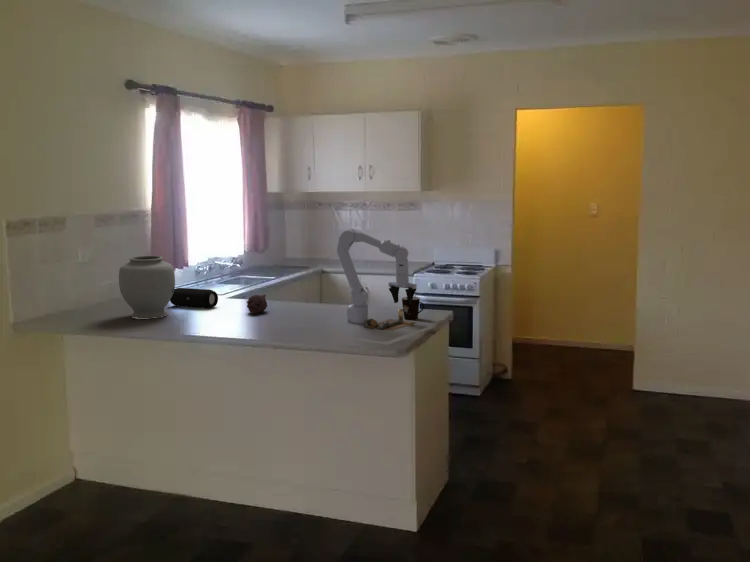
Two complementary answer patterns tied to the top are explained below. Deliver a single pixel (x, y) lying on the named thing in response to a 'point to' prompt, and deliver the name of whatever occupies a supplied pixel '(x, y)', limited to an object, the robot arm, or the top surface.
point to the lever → (388, 324)
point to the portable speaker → (194, 298)
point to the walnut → (373, 323)
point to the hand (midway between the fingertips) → (402, 303)
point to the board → (392, 328)
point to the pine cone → (257, 304)
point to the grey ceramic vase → (147, 285)
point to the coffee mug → (411, 308)
